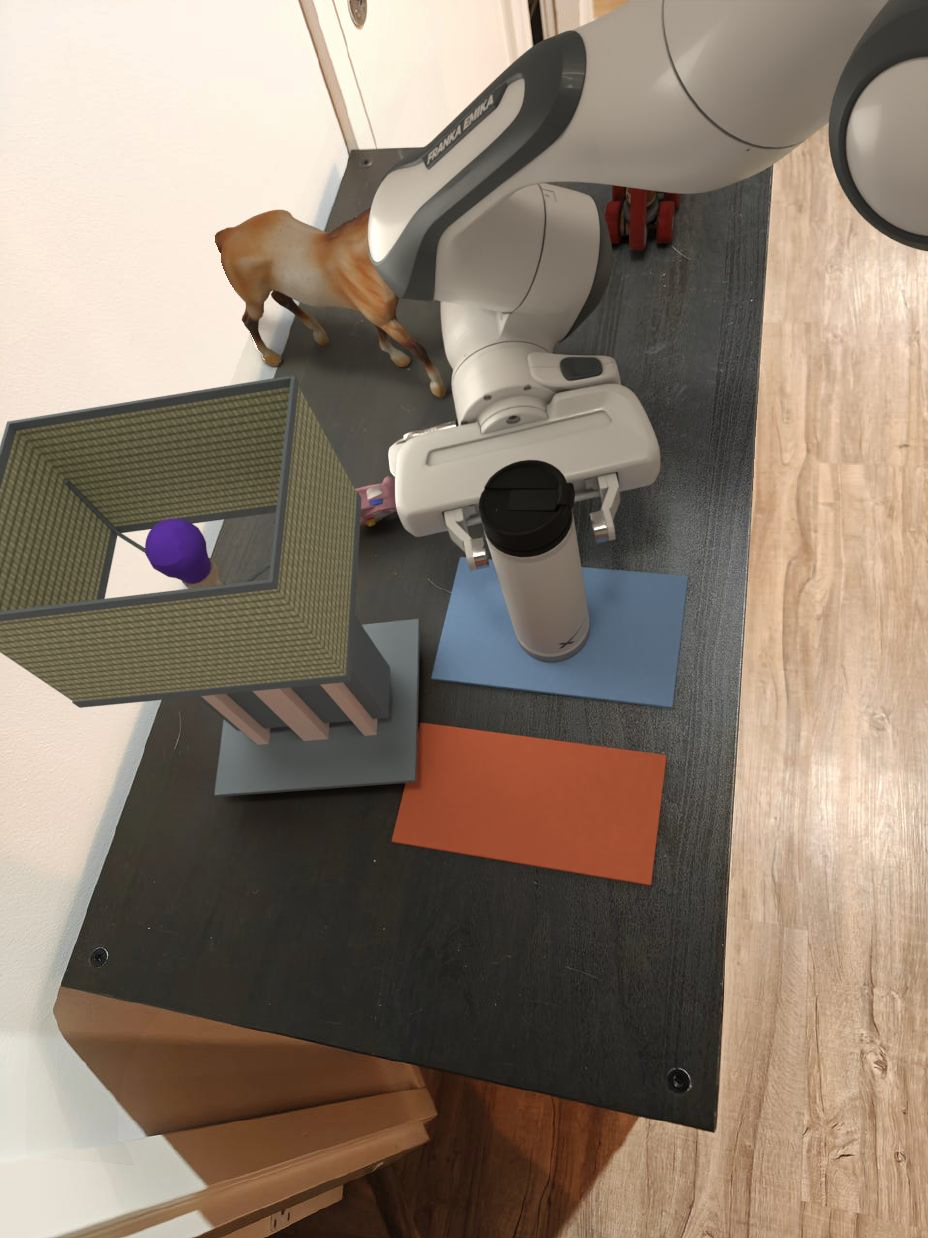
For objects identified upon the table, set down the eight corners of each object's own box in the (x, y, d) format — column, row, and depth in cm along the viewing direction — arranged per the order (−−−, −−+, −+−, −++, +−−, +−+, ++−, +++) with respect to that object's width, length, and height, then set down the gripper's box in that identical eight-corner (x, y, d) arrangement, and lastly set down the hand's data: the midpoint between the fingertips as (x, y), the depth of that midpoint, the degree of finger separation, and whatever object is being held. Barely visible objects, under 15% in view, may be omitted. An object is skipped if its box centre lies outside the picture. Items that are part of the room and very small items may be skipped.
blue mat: (688, 578, 80) (688, 575, 80) (672, 709, 75) (672, 707, 74) (461, 559, 85) (460, 556, 85) (431, 680, 80) (430, 678, 80)
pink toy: (312, 552, 90) (294, 544, 83) (299, 507, 91) (280, 494, 84) (411, 522, 90) (401, 511, 83) (397, 476, 90) (386, 461, 83)
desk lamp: (218, 804, 78) (-52, 625, 50) (237, 651, 85) (8, 417, 57) (432, 789, 75) (271, 587, 47) (435, 631, 82) (294, 370, 53)
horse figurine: (502, 363, 95) (462, 183, 77) (470, 421, 92) (421, 248, 74) (251, 311, 106) (167, 144, 88) (216, 361, 103) (121, 199, 85)
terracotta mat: (666, 756, 73) (666, 754, 73) (651, 886, 69) (651, 885, 68) (421, 724, 78) (420, 722, 78) (392, 842, 74) (391, 841, 74)
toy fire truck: (602, 264, 99) (595, 177, 90) (618, 182, 104) (614, 93, 95) (669, 264, 97) (669, 176, 88) (683, 181, 102) (684, 90, 93)
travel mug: (590, 666, 77) (567, 533, 60) (511, 660, 79) (467, 529, 62) (598, 599, 80) (579, 454, 63) (521, 594, 82) (482, 452, 64)
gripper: (375, 413, 74) (393, 560, 67) (634, 351, 72) (679, 495, 65) (395, 461, 80) (413, 602, 73) (636, 405, 78) (678, 544, 71)
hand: (541, 551), depth 69 cm, fingers open, 8 cm apart
